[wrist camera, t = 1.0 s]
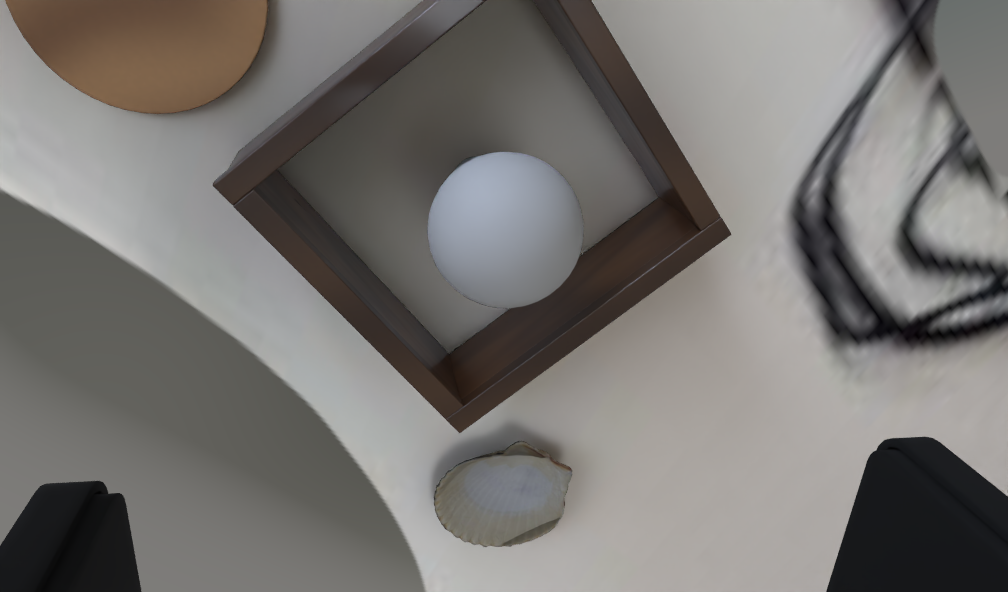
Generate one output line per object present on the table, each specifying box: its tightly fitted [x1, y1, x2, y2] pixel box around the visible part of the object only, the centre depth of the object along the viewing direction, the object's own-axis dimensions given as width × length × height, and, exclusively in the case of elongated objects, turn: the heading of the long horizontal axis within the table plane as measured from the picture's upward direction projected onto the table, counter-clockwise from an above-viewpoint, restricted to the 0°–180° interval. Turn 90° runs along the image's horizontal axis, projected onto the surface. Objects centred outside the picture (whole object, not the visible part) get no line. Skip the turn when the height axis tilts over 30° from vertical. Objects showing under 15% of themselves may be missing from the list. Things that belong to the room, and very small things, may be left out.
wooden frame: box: [213, 0, 731, 433], centre depth 33 cm, size 16×16×6 cm
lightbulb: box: [427, 152, 584, 308], centre depth 30 cm, size 6×6×11 cm
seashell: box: [434, 441, 572, 547], centre depth 42 cm, size 8×3×8 cm
